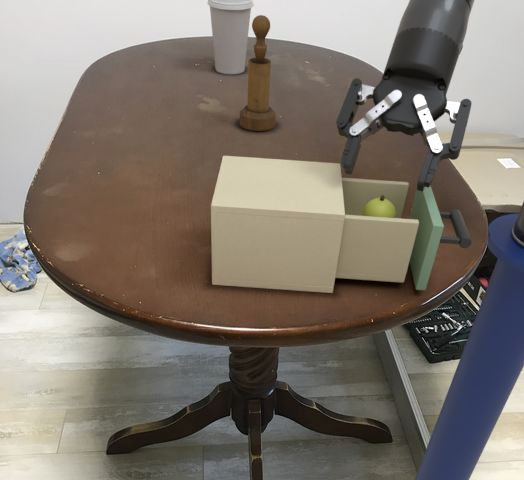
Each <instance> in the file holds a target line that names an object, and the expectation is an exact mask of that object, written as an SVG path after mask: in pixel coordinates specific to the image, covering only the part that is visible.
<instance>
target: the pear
mask: <svg viewBox="0 0 524 480" xmlns="http://www.w3.org/2000/svg"><path fill="white" fill-rule="evenodd" d="M359 216H372V217H386V218H396V210H395V207H394V205H393V204H392V203H391V202H390V201H389V200H387V199H385V196H384V195H381V197H380V198H375V199H373V200H371V201H369V202H368V203H367V204H366V205H365V207H364V209H363V212H362V213H361V214H360V215H359Z"/></svg>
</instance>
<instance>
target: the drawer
mask: <svg viewBox="0 0 524 480" xmlns="http://www.w3.org/2000/svg"><path fill="white" fill-rule="evenodd" d="M409 186H410V184H409V182H408V181H398V180H397V181H396V180H379V179H367V178H353V177H342V188H343V198H344V209H345V218H344V225H343V231H342V238H341V244H340V250H339V257H338V263H337V269H336V276H335V279H344V280H345V279H348V280H359V281H360V280H361V281H373V282H374V281H376V282H387V283H388V282H390V283H401V284H402V283H405V280H406V276H407V273H408V268H409V266H410V270H411V274H412V279H413V283H414V284H413V285H414V288H415V290H416V291H426V290H427V287H428V284H429V281H430V280H429V279H430V276H431V273H432V269H433V266H434V262H435V258H436V256H437V252H438V248H439V245H440V244H448V245H459V247H460V248H461V249H468V248H470V247H471V246H472V243H473V242H472V238H471V236H470V233H469V230H468V228H467V226H466V223H465V219H464V218H463V214H462V212H461V210H460V209H458V208H455V209H451V211H440V210H439V207H438V204H437V201H436V199H435V195H434V192H433V189H432V185H431V186H430V187H425V188H424V191H419V190H417V187H416V189H415V193H414V197H413V201H412V205H411V209H410V213H409V216H408V217H409V218H402V217H403V212H404V208H405V204H406V199H407V195H408V190H409ZM381 195H384V196H385V199H387V200H389V201H390V202H391V203H392V204H393V205H394V207H395V210H396V218H386V217H372V216H359V215H360V214H361V213H362V212H363V209H364V207H365V205H366V204H367V203H368V202H369V201H371V200H373V199H375V198H380V197H381ZM442 219H450V222H451V225H452V227H453V231H454V233H455V236H443V231H444V228H445V225H444V223H443V220H442Z"/></svg>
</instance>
